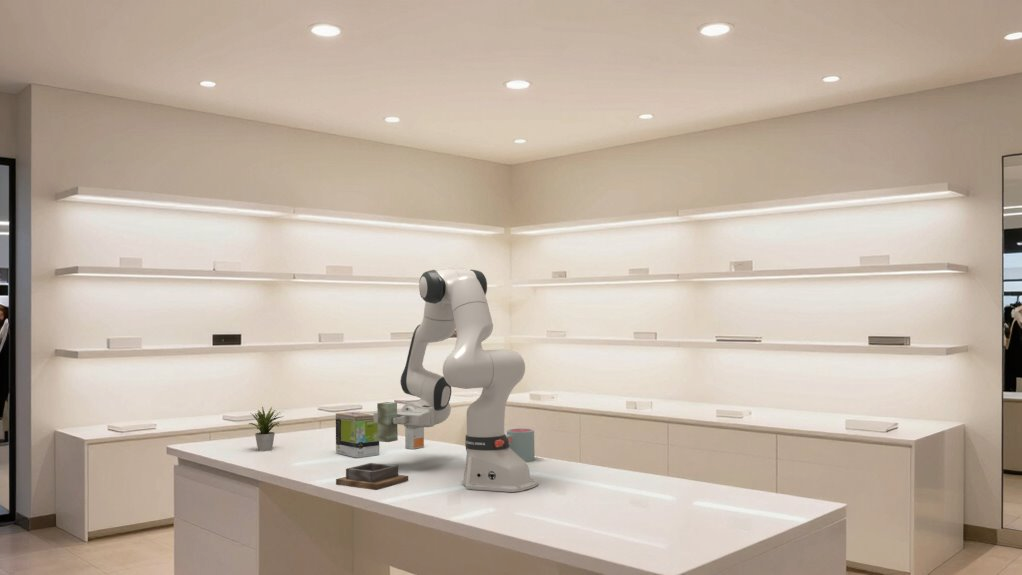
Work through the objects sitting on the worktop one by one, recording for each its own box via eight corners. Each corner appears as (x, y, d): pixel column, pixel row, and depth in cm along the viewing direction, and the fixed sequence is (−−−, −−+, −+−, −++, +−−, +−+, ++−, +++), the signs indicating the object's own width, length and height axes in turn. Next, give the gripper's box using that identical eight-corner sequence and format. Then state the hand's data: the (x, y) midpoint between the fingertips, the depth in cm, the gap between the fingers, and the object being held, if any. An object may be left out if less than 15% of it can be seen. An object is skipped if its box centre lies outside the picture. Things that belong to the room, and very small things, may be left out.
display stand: (408, 480, 251) (408, 465, 251) (376, 489, 239) (376, 473, 239) (368, 475, 260) (368, 461, 260) (336, 484, 248) (335, 468, 248)
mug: (520, 456, 289) (520, 427, 289) (540, 459, 282) (539, 430, 283) (491, 462, 279) (491, 432, 280) (511, 465, 273) (510, 434, 273)
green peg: (397, 440, 267) (397, 402, 267) (388, 442, 263) (387, 404, 263) (387, 439, 269) (386, 402, 269) (377, 441, 265) (377, 403, 266)
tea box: (380, 455, 297) (380, 413, 298) (355, 458, 291) (355, 416, 291) (359, 450, 309) (358, 410, 309) (334, 453, 302) (334, 412, 303)
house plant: (278, 453, 304) (278, 408, 305) (240, 454, 305) (240, 409, 305) (289, 447, 319) (288, 404, 319) (253, 447, 319) (252, 404, 319)
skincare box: (413, 449, 308) (412, 417, 308) (405, 448, 310) (404, 416, 310) (424, 447, 312) (424, 415, 313) (416, 446, 315) (415, 414, 315)
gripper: (389, 404, 283) (361, 409, 271) (437, 407, 272) (409, 412, 260) (389, 423, 282) (361, 428, 271) (437, 426, 271) (410, 432, 260)
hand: (385, 420), depth 265 cm, fingers closed on green peg, 4 cm apart
